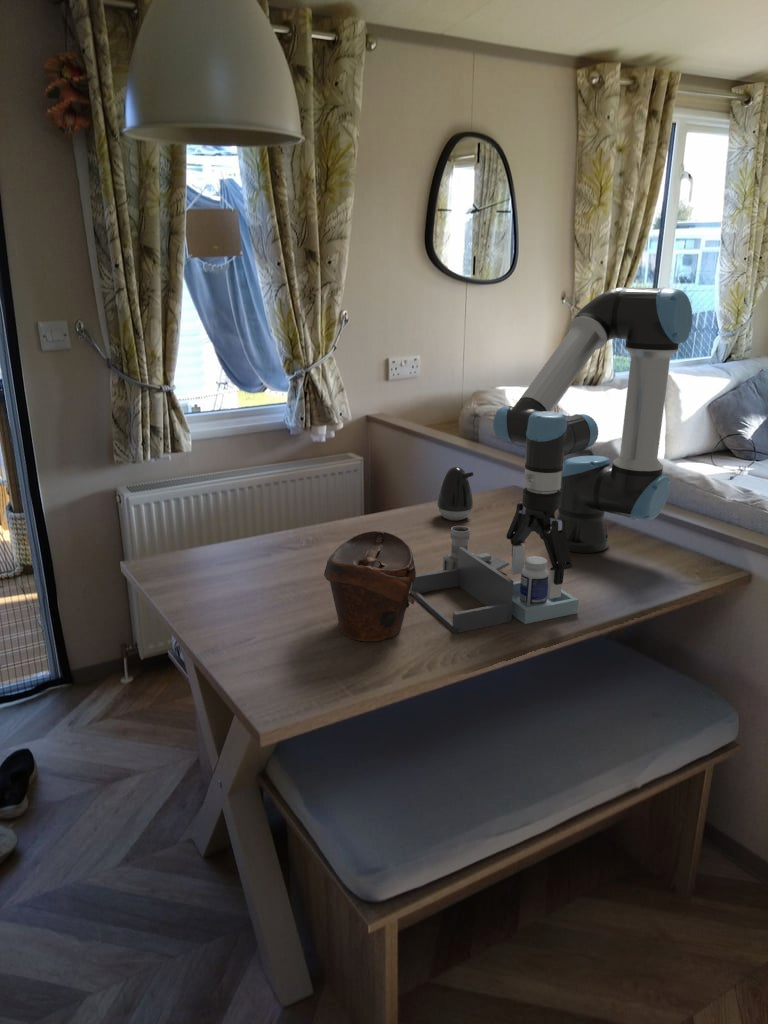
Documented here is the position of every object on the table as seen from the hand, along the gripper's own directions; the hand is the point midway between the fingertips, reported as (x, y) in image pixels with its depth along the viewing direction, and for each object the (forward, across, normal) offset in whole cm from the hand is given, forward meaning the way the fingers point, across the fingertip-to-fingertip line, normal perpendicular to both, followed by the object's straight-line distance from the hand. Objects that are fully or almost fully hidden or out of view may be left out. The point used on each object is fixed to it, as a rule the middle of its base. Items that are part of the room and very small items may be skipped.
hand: (534, 585), depth 159 cm
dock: (+5, -6, -15) cm, 17 cm away
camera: (+5, -21, -3) cm, 22 cm away
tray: (+5, 0, 0) cm, 5 cm away
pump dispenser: (+5, -59, +13) cm, 61 cm away
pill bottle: (+4, 0, 0) cm, 5 cm away
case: (+5, -4, -36) cm, 37 cm away
